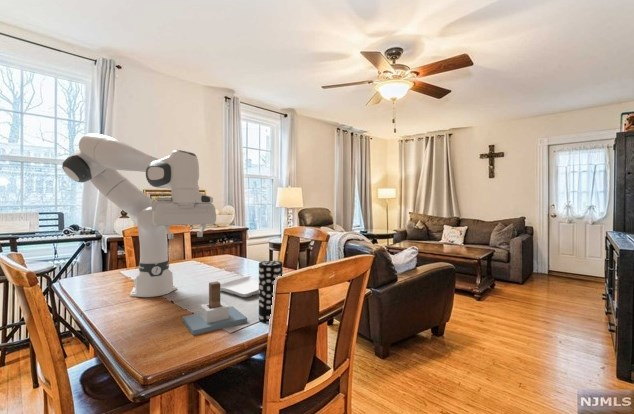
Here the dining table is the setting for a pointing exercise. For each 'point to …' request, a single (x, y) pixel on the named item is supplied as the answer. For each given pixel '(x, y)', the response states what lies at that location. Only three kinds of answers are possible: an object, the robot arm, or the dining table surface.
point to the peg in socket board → (213, 318)
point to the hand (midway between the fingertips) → (185, 237)
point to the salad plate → (242, 286)
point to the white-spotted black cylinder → (267, 287)
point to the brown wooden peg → (214, 295)
